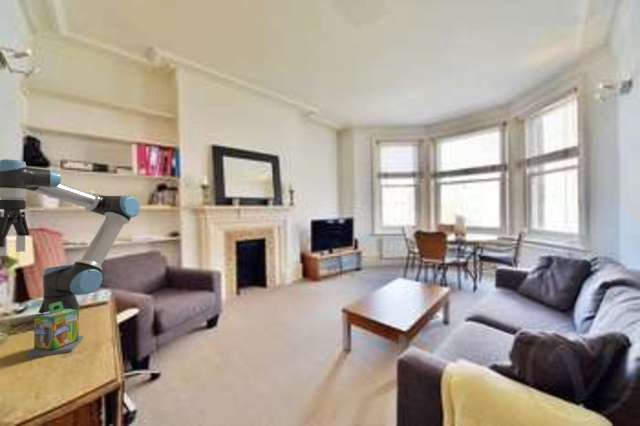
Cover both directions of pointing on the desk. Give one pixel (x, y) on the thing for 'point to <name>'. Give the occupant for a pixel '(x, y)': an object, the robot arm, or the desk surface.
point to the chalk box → (56, 327)
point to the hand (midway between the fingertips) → (12, 253)
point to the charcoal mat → (43, 352)
